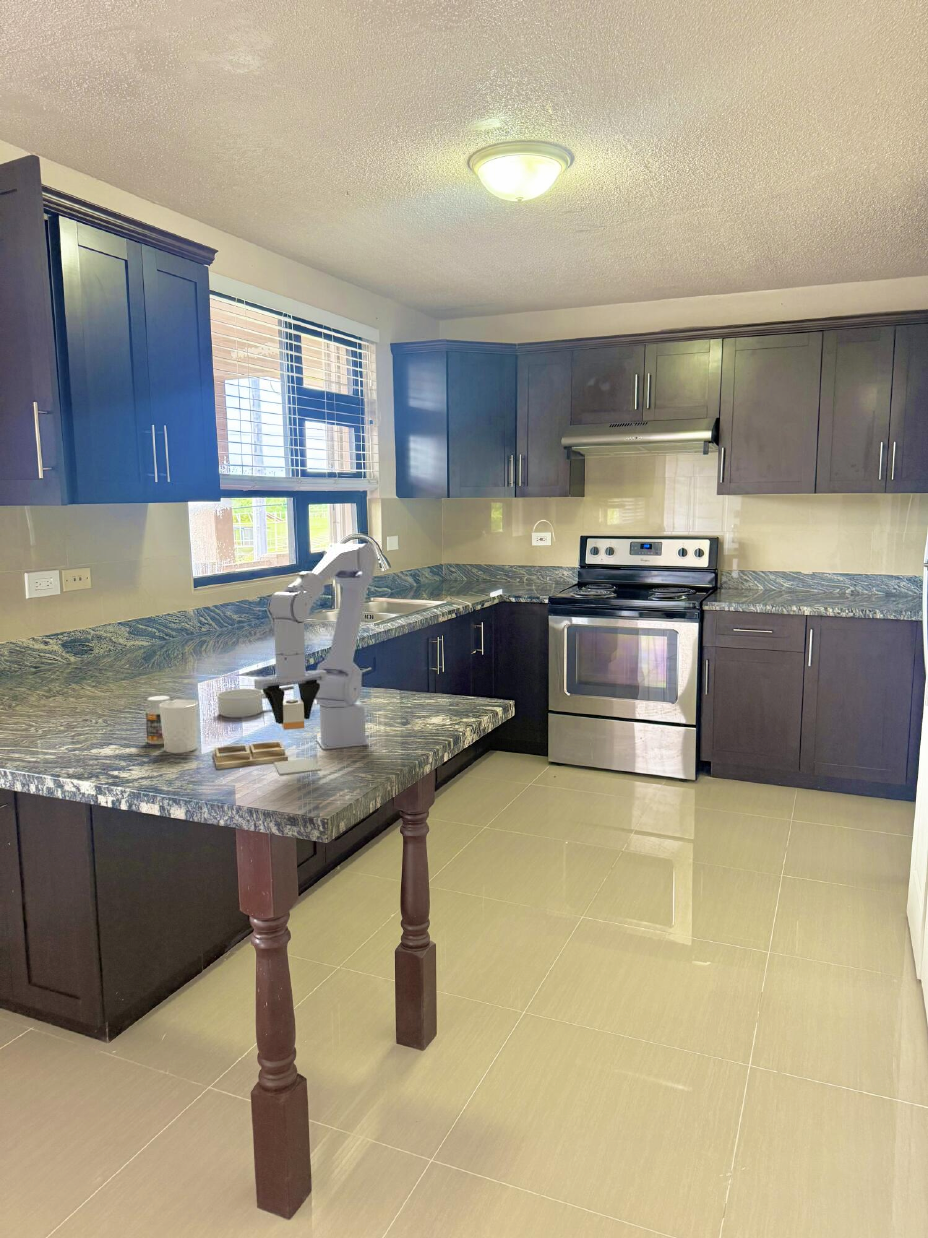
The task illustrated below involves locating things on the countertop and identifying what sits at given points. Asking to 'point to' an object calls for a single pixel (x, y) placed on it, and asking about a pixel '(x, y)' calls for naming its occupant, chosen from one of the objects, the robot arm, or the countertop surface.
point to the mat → (296, 766)
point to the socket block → (249, 754)
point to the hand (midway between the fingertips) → (292, 720)
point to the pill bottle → (154, 719)
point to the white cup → (179, 725)
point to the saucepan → (242, 702)
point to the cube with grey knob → (293, 714)
